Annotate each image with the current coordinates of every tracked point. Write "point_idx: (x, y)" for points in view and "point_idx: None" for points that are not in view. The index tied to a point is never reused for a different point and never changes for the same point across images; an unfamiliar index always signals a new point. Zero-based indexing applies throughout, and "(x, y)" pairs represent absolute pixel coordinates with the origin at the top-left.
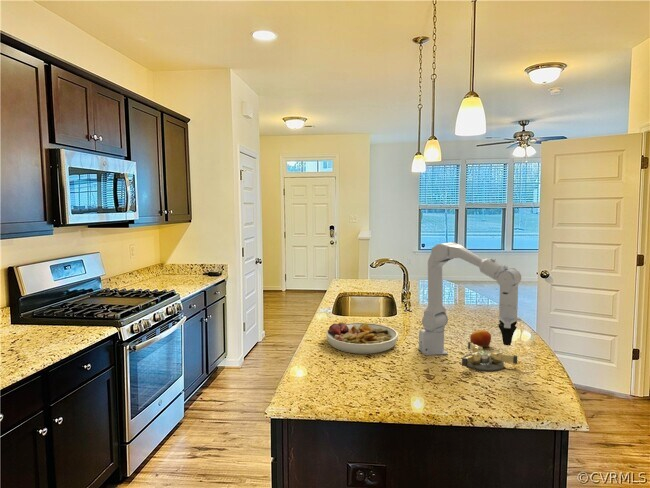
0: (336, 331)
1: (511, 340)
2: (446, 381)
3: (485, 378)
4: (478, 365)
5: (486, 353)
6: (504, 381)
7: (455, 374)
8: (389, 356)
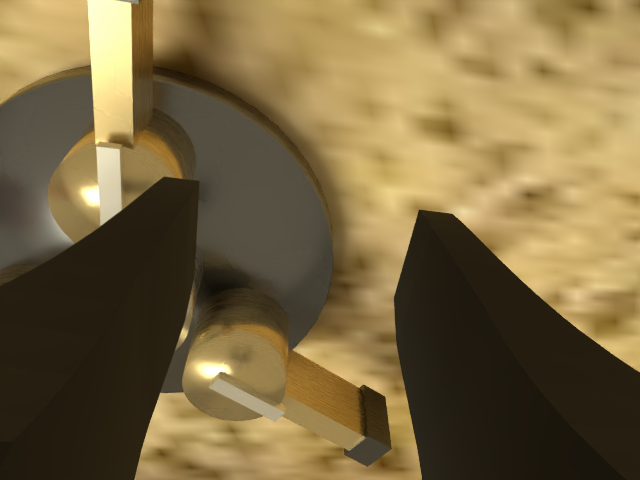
0: None
1: (500, 263)
2: None
3: (496, 247)
4: (288, 301)
5: None
6: (551, 106)
7: None
8: None
